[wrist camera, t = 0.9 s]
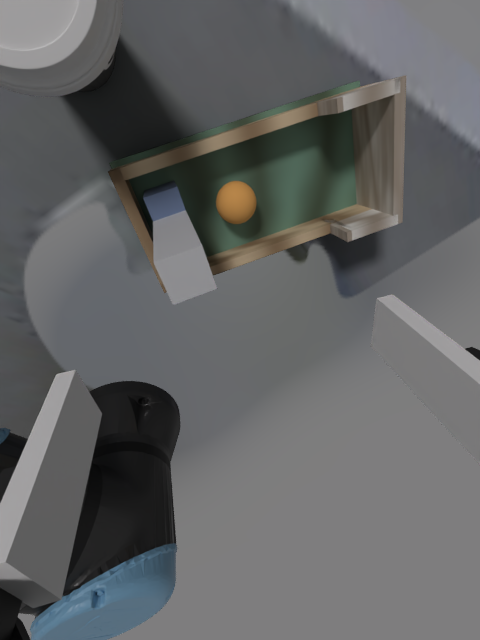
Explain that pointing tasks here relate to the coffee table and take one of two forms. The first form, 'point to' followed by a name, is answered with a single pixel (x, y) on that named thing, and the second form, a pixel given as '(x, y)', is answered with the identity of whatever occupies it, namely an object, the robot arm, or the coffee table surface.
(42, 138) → the coffee table surface
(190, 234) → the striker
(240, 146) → the wooden tray
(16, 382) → the coffee table surface
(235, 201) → the ball
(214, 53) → the coffee table surface
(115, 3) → the coffee cup
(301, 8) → the coffee table surface
